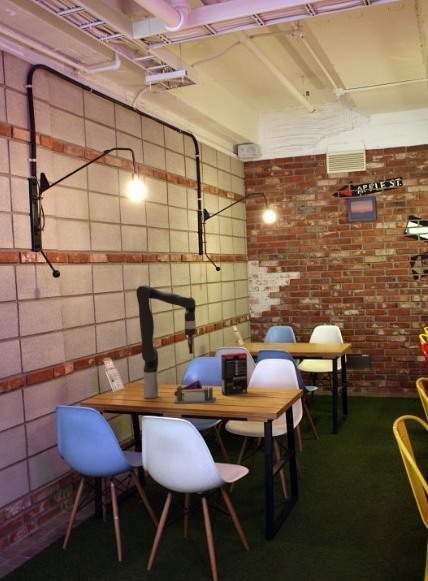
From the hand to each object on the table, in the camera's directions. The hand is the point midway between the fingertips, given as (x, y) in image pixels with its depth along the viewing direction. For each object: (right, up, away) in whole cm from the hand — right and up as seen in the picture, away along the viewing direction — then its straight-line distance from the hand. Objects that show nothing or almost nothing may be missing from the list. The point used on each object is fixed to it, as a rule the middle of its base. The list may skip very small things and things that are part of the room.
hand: (191, 353), depth 382 cm
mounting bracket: (-3, -29, +8) cm, 31 cm away
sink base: (+3, -29, -11) cm, 32 cm away
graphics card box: (+29, -28, +7) cm, 41 cm away
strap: (+2, -23, -11) cm, 26 cm away
